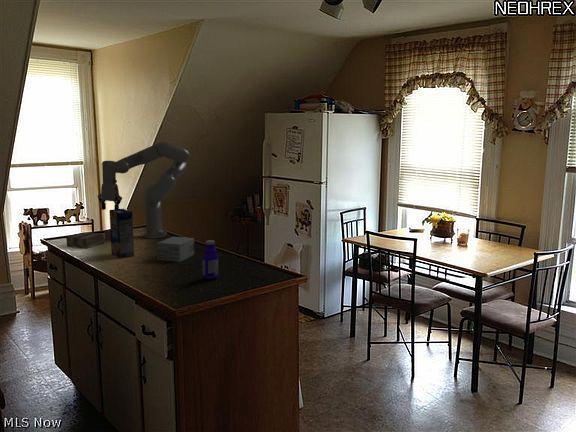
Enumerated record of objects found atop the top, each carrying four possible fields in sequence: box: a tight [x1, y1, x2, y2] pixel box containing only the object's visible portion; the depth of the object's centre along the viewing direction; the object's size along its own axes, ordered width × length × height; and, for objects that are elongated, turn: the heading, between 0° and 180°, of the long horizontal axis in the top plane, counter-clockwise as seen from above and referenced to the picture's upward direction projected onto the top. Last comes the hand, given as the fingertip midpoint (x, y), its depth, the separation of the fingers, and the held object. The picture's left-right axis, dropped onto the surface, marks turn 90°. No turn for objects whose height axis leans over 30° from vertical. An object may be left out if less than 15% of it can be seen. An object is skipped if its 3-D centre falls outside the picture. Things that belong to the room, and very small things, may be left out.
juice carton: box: [108, 208, 135, 259], centre depth 275 cm, size 12×8×24 cm, turn 40°
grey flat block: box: [65, 231, 105, 249], centre depth 299 cm, size 14×14×6 cm
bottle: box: [201, 239, 219, 280], centre depth 235 cm, size 7×6×17 cm
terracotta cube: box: [104, 228, 111, 242], centre depth 314 cm, size 6×6×6 cm
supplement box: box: [156, 236, 195, 263], centre depth 273 cm, size 17×13×9 cm
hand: (110, 210), depth 311 cm, fingers open, 9 cm apart
